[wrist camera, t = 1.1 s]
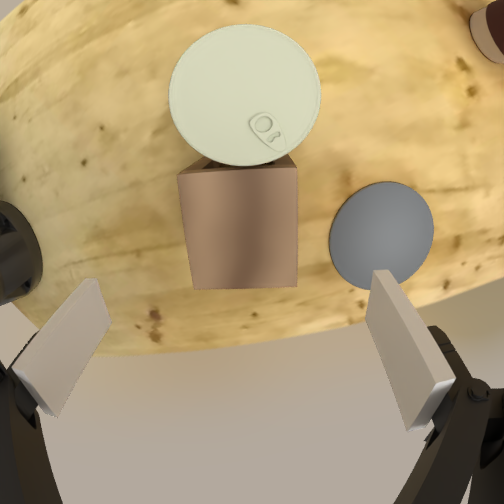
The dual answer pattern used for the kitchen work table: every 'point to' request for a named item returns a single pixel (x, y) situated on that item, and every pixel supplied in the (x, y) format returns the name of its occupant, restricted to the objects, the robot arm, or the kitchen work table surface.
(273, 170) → the wooden stool
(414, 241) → the rubber mat
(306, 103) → the can
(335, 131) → the kitchen work table surface
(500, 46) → the coffee cup
